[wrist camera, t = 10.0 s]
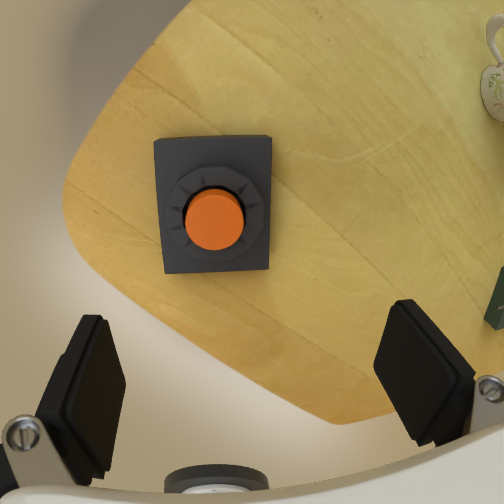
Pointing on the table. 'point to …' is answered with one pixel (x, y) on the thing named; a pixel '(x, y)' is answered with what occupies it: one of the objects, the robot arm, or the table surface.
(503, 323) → the dial panel
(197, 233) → the round orange button
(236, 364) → the table surface
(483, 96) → the mug
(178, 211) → the push button box
